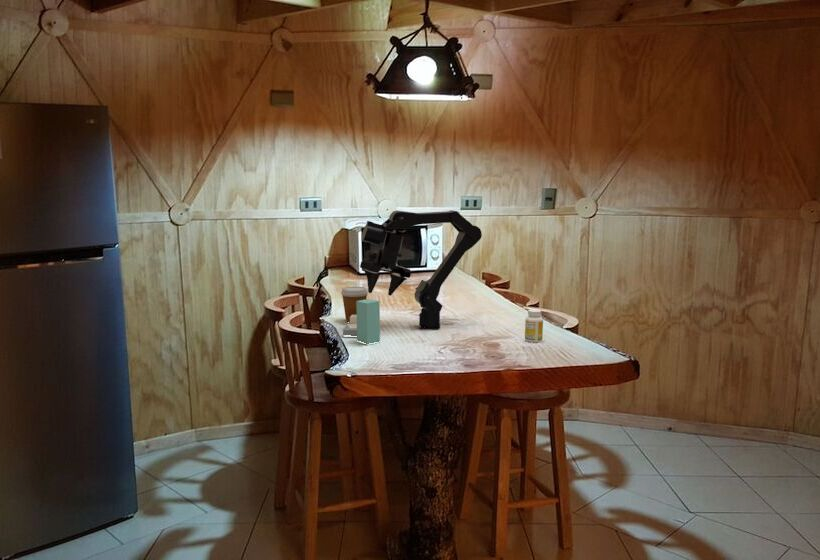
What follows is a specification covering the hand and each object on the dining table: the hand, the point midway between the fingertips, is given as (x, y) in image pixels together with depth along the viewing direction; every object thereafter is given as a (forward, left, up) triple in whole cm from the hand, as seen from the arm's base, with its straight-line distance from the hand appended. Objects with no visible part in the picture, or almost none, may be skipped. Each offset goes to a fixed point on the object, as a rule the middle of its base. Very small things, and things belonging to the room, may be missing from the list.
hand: (379, 294), depth 206 cm
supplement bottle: (-50, +9, -13) cm, 52 cm away
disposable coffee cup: (+10, -12, -13) cm, 20 cm away
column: (+1, +15, -12) cm, 20 cm away
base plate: (+7, +3, -12) cm, 15 cm away
